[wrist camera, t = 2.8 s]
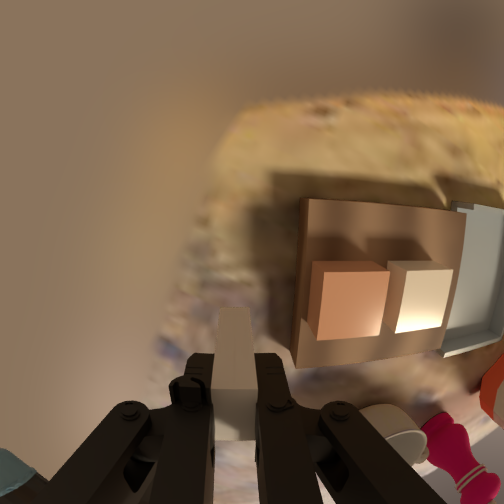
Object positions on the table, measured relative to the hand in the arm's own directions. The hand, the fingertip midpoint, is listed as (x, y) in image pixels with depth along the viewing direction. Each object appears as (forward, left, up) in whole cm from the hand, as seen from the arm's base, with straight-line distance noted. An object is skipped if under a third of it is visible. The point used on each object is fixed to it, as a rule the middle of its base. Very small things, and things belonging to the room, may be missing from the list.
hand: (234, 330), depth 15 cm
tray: (+28, 0, -9) cm, 29 cm away
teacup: (+17, -20, -10) cm, 28 cm away
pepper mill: (+30, -25, -10) cm, 41 cm away
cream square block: (+15, 0, -6) cm, 16 cm away
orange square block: (+8, 0, -6) cm, 10 cm away
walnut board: (+13, 0, -9) cm, 16 cm away
